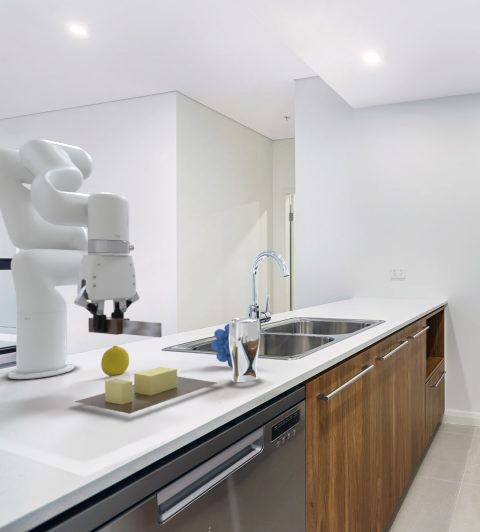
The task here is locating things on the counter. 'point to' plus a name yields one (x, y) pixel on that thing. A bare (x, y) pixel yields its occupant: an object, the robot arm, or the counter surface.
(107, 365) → the lemon
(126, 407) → the board
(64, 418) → the counter surface
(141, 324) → the knife
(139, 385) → the butter block
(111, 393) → the butter slice
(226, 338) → the grapes
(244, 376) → the beer glass
